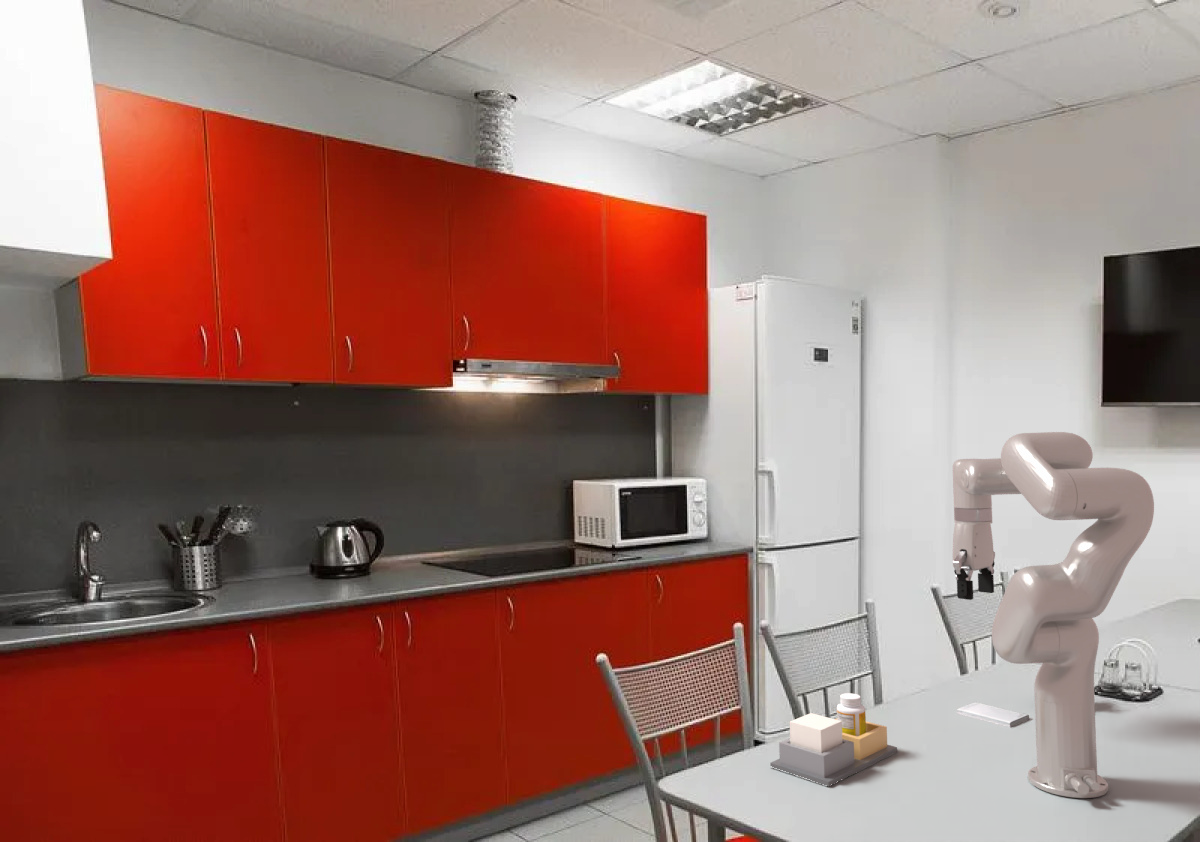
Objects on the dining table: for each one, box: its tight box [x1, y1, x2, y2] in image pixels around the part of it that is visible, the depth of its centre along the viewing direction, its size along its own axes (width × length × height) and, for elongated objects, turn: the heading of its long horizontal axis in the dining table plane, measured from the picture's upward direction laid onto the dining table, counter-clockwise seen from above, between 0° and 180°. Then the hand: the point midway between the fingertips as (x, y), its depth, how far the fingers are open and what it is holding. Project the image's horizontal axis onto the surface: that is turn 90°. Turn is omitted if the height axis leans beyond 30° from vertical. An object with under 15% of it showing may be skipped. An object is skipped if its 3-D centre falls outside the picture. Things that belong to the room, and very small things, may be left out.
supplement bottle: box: [836, 692, 867, 737], centre depth 173 cm, size 6×6×10 cm
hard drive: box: [956, 701, 1030, 728], centre depth 192 cm, size 2×8×12 cm
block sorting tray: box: [770, 712, 898, 787], centre depth 169 cm, size 24×13×9 cm, turn 132°
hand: (975, 595), depth 185 cm, fingers open, 9 cm apart
